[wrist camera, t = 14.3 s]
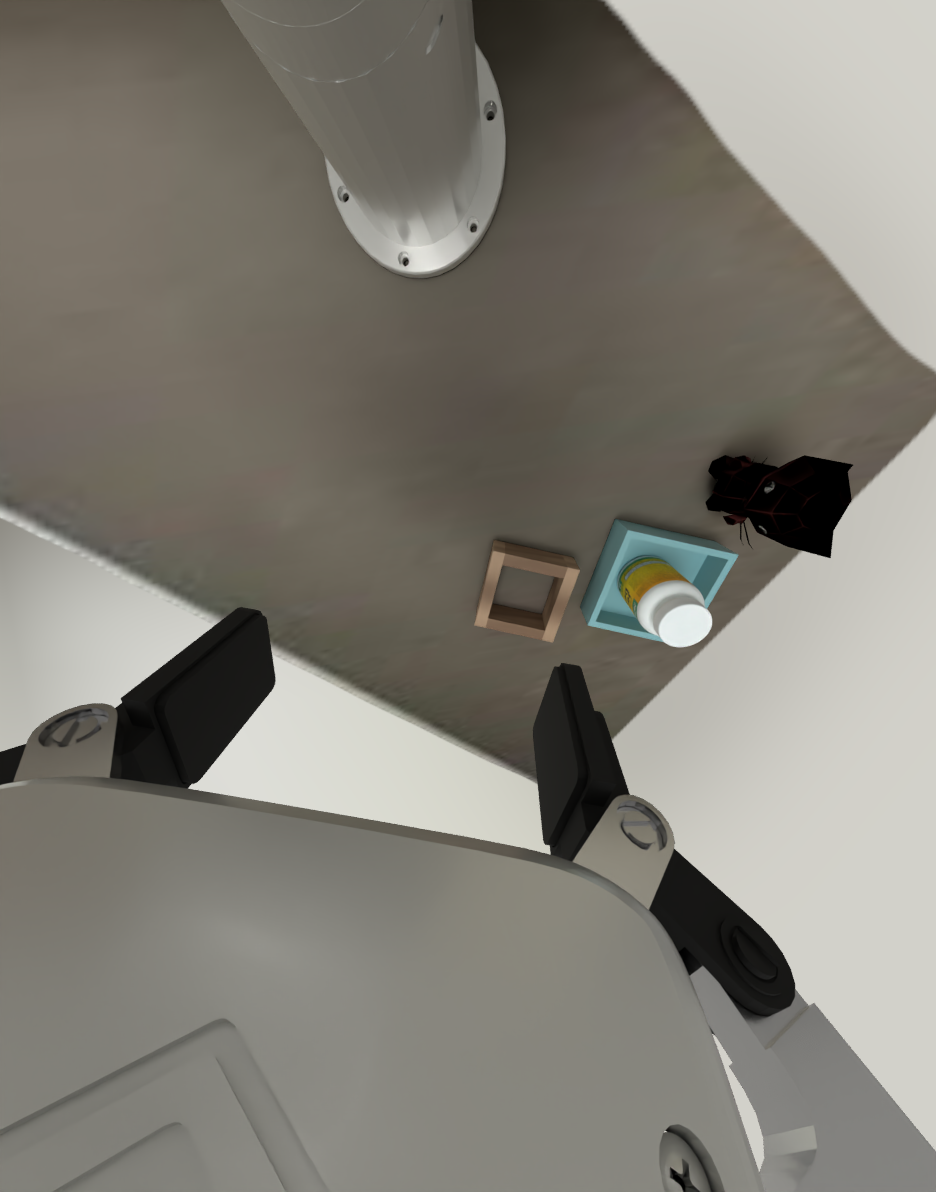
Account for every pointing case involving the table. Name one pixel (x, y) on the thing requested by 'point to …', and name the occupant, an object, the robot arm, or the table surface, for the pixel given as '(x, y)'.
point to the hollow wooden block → (523, 620)
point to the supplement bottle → (664, 601)
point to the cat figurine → (784, 499)
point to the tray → (629, 541)
